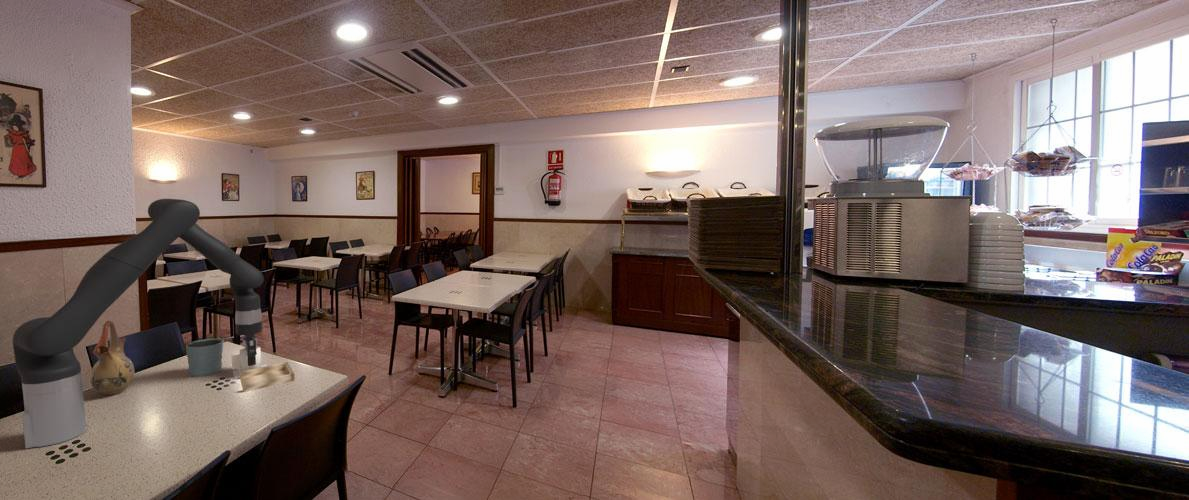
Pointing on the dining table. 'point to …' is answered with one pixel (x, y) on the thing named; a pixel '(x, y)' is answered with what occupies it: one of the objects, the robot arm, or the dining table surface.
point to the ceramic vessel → (111, 364)
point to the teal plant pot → (204, 356)
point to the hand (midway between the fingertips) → (250, 362)
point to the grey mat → (237, 372)
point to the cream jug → (246, 360)
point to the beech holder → (266, 376)
